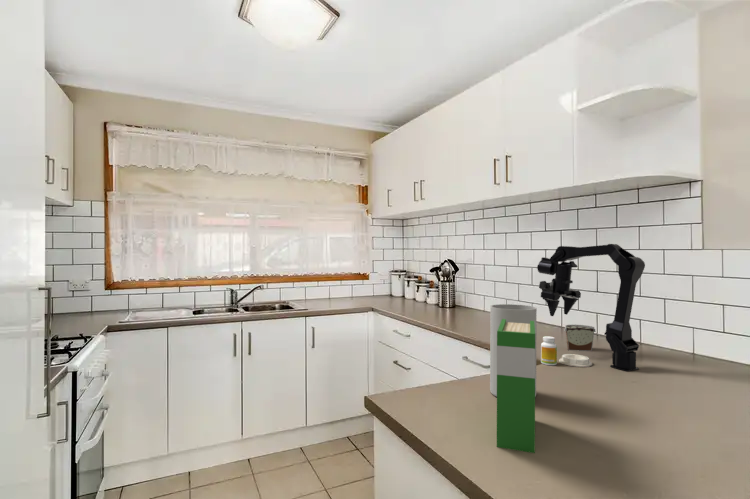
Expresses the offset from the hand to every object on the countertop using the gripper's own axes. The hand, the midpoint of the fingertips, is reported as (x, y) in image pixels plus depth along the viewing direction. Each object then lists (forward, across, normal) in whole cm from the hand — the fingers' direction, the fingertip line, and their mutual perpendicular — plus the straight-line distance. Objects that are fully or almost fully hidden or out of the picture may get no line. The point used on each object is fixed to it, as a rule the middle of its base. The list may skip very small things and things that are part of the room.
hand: (558, 315), depth 168 cm
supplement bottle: (+15, +18, +9) cm, 25 cm away
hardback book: (+11, +76, +42) cm, 87 cm away
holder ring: (+14, +8, +14) cm, 21 cm away
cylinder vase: (+13, +56, +24) cm, 63 cm away
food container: (+16, -14, +1) cm, 21 cm away
